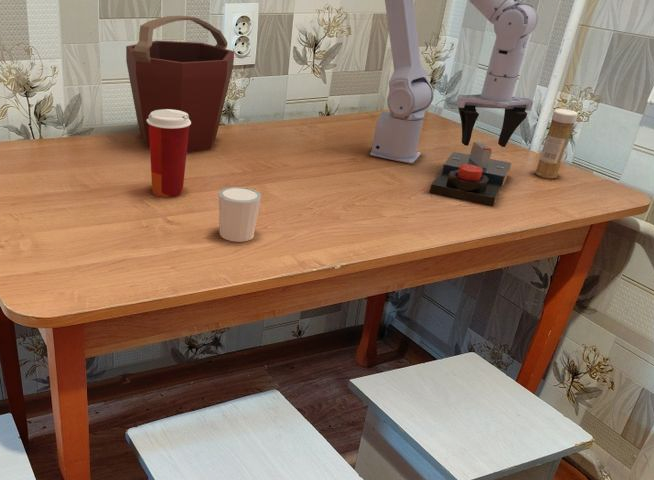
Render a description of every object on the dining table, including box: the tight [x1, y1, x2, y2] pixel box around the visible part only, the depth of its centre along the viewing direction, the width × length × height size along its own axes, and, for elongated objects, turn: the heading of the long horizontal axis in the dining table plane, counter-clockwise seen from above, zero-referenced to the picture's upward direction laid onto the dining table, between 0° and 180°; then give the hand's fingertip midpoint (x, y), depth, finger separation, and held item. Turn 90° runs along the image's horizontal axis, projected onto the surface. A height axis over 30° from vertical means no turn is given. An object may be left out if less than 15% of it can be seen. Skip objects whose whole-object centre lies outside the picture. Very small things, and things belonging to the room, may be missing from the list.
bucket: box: [125, 15, 235, 153], centre depth 149 cm, size 24×22×25 cm
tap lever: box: [469, 140, 493, 168], centre depth 143 cm, size 6×2×4 cm, turn 3°
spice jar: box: [534, 108, 579, 180], centre depth 146 cm, size 5×5×14 cm
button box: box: [429, 170, 502, 207], centre depth 136 cm, size 12×8×4 cm, turn 63°
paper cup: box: [146, 109, 191, 198], centre depth 125 cm, size 8×8×14 cm
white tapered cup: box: [218, 186, 262, 243], centre depth 113 cm, size 7×7×7 cm
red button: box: [457, 164, 483, 181], centre depth 135 cm, size 4×4×2 cm
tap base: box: [441, 151, 512, 192], centre depth 145 cm, size 12×10×3 cm
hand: (483, 144), depth 142 cm, fingers open, 7 cm apart
